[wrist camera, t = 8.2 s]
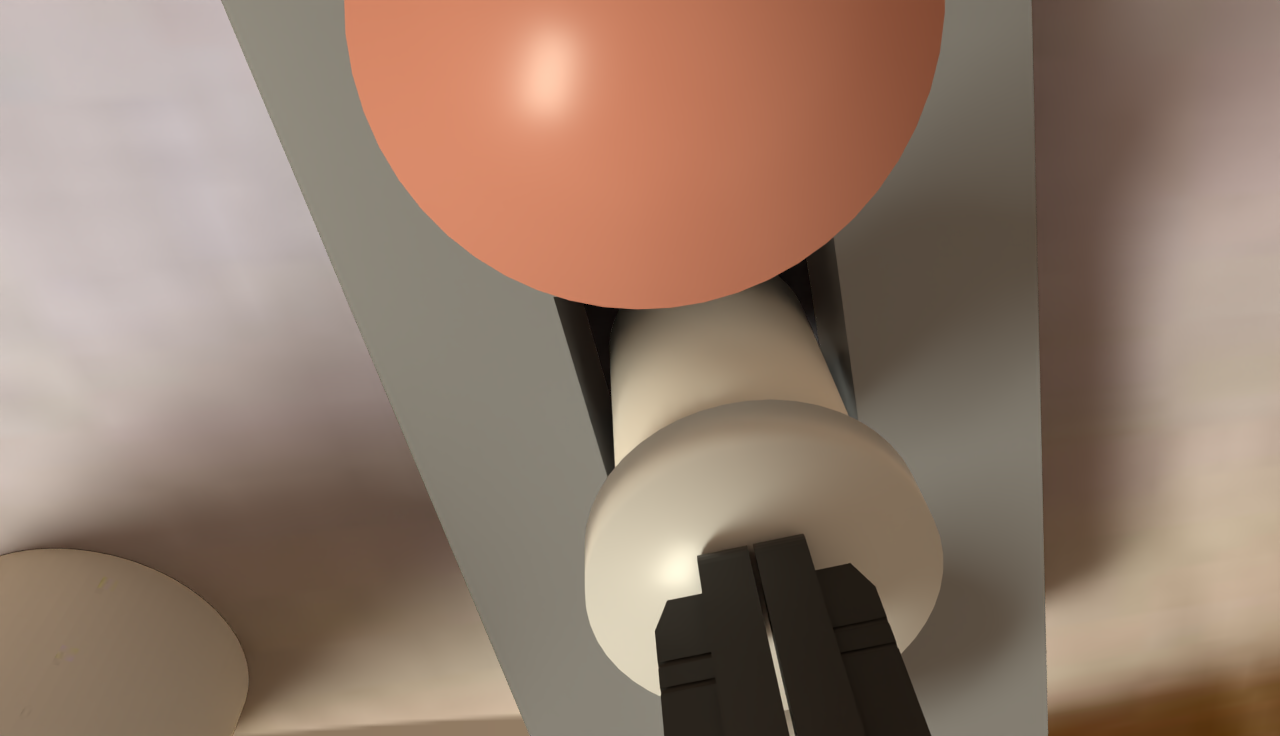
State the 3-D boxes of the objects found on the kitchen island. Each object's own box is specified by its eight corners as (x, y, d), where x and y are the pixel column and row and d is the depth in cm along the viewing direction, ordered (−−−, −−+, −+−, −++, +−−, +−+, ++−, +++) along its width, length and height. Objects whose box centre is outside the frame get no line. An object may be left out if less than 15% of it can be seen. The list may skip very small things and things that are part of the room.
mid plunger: (816, 203, 19) (930, 404, 12) (847, 422, 21) (953, 677, 15) (555, 263, 19) (542, 487, 13) (616, 471, 21) (629, 740, 15)
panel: (923, -460, 16) (1019, -529, 12) (989, 622, 28) (1048, 740, 24) (204, -263, 17) (104, -278, 13) (571, 705, 29) (570, 831, 25)
